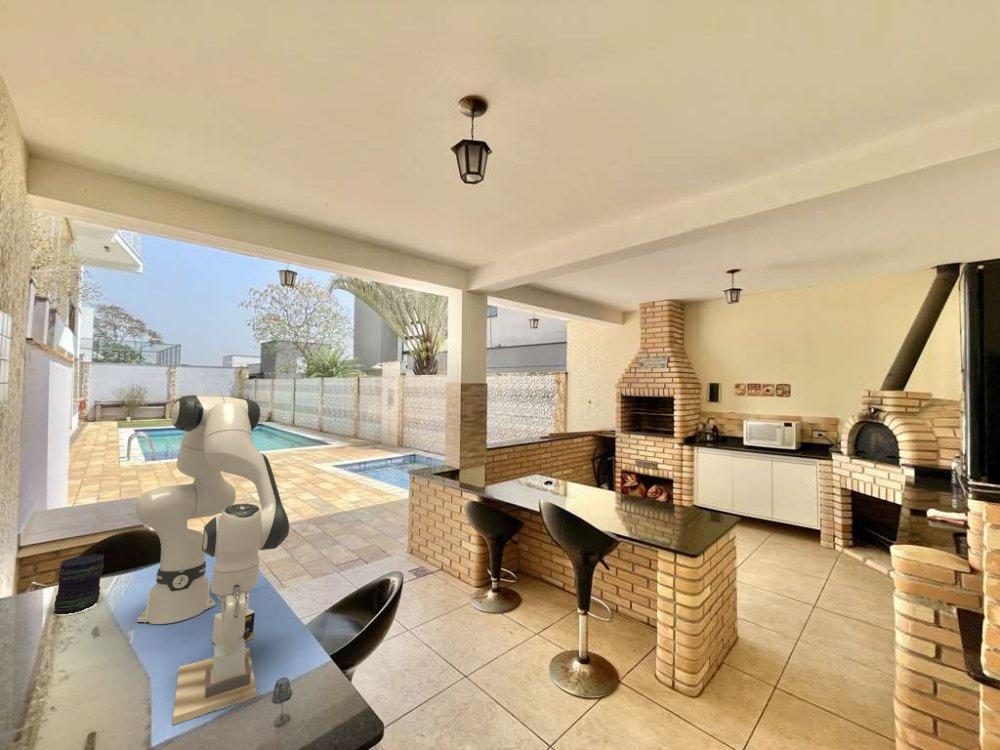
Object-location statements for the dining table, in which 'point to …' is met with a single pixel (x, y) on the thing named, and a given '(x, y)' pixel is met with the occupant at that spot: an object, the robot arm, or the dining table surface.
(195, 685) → the board
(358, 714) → the dining table surface
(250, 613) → the medicine bottle
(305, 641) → the dining table surface
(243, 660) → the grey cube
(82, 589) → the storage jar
